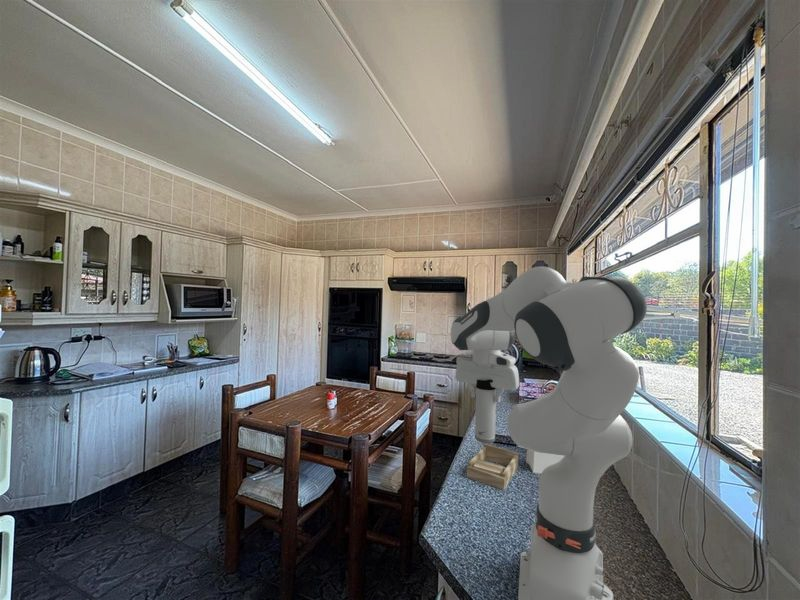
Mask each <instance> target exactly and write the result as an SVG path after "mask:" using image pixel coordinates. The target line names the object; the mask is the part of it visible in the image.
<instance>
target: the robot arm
mask: <svg viewBox="0 0 800 600" xmlns="http://www.w3.org/2000/svg"><path fill="white" fill-rule="evenodd" d="M647 309H648V308H647V301H646V298H645V296H644V294H643V292H642V290H640V288H639V287H638V286H637V285H636V284H635V283H634V282H632V281H631V280H629V279H628V278H627V279H626V278H625V277H621V276H616V275H613V276H612V275H611V276H610V275H609V276H608V275H605V276H582V277H580V279H579V281H578V282H569V281H567V280H565V278H564V277H563V275H562V274H561V273H560V272H559V271H557V270H555V269H554V268H551V267H548V266H541V265H540V266H535V267H532V268H530V269H528V270H526V271H524V272H522V273H521V274H519V276H516V278H514V280H512V282H510V284H509V285H508V286H507V287H506V288H505V289H503V290H502V291H501V292H499V293H497V294H495V295H494V296H493V297H489V298H488V299H486V300H484V301H483V300H482V302H479V303H478V304H475V306H473V307H472V308H471V309H470V310H469V311H467V312H466V313H465V314H464V315H463V316H458V317H456V318H455V320H453V322H452V323H451V327H450V340H451V343H452V345H454V347H455V348H457V349H458V350H459V351H469V350H472V354H465V353H461V354H459V355H457V356H456V370H455V379H456V381H457V382H460V383H465V384H467V387H468V389H469V391H470V397H471V398H474V399H476V389H475V388H474V386H475V385H477V380H493V382H490V384H491V387H495V388H496V389H497V392H498V394H496V395H495V396H494V402H496V403H500V402H501V396H502V394H503V393H504V391H505V390H507V391H516V390H517V389H518V388H519V387H520V376H519V375H520V374H519V370H518V367H517V366H516V365H515V364H516V362H517V359H516V357H514V356H512V355H510V354H508V353H505V352H502V351H506V350H509V349H510V348H511V347H512V346H513V344H514V343H515V341H516V340H517V341H518V343H519V345H520V346H521V348H522V349H523V351H524V352H525V353H526V355H528V356H529V357H531V358H532V359H534V360H535V361H537V362H538V363H541V364H542V365H545V366H548V367H550V368H551V369H553V370H555V371H560V372H562V373H561V375H560V378H559V379H558V381H557V383H556V385H555V387H554V388H553V390H552V391H549V392H548V393H546V394H545V395H543V396H541V397H538V398H536V399H534V400H533V399H532V400H530V401H526V402H522V403H516V404H515V405H513V407H512V408H511V410H509V414H508V416H507V423H506V424H507V431H508V434H509V437H510V438H511V440H512V442H514V444H515V445H516V446H517V447H519V448H523V449H525V450H527V449H528V450H532V451H535V452H539V453H547V454H555V455H564V457H563V459H561V460H560V461H559V462H557V463H555V464H553V465H550V466H548V467H546V468H545V469H544V470H543V472H542V473H540V476H539V478H538V504H537V506H536V511H535V523H533V524H531V525H530V549H529V548H527V549H526V551H522V552H521V553H520V560H519V573H518V574H519V577H518V592H517V593H518V594H517V595H518V596H517V600H615V599H614V593H613V591H612V590H611V589H610V588H609V587H608V586H607V585H606V584H605V583H604V573H605V572H604V571H605V569H604V561H603V560H604V553H603V552H602V550H601V549H600V548H599V547H598V545H597V544H596V536H597V533H596V532H597V531H596V523H595V521H594V504H595V497H596V496H595V494H596V490H597V486H598V484H599V482H600V479H601V477H602V476H603V475H604V474H605V472H606V471H607V470H608V469H609V468H610V467H612V466H613V465H614V464H615V463H616V462H618V461H620V460H622V459H624V458H626V457H627V456H628V455H629V453H630V452H631V450H632V447H633V435H632V434H633V433H632V430H631V428H630V426H629V424H628V422H627V421H626V420H625V419H624V418H623V416H622V415H621V414H622V413H623V411H625V410H626V408H627V406H628V405H629V404H630V402H631V400H632V398H633V396H634V394H635V391H636V389H637V387H638V383H639V378H640V373H639V368H638V366H637V363H636V361H635V360H634V359H633V358H632V356H630V354H629V353H627V351H625V350H623V349H622V348H620V347H618V346H615V345H614V344H613V341H612V340H613V339H614V338H616V337H619V336H620V335H623V334H626V333H629V332H631V331H632V330H634V329H635V328H636V327H637V326H638V325H640V323H642V322H643V320H644V319H645V317H646V315H647ZM515 336H516V337H515Z"/></svg>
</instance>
